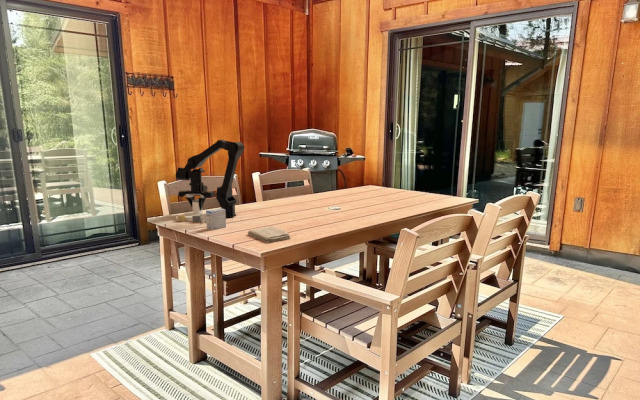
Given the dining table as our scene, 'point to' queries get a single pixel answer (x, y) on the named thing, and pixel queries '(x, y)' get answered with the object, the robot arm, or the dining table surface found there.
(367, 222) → the dining table surface
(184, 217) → the socket block
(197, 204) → the plug
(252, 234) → the washcloth
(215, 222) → the medicine box
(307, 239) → the dining table surface
